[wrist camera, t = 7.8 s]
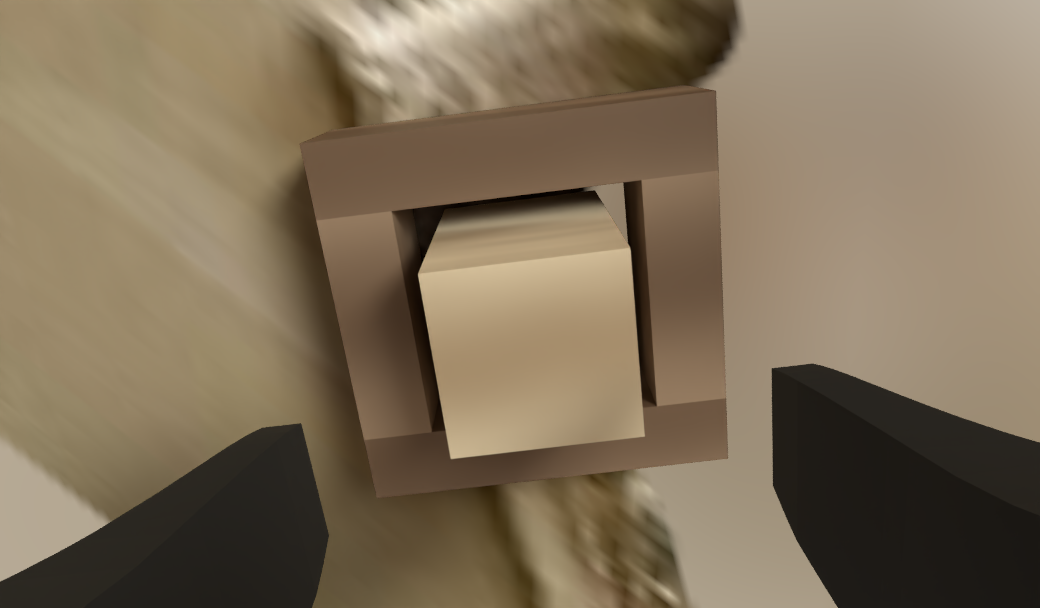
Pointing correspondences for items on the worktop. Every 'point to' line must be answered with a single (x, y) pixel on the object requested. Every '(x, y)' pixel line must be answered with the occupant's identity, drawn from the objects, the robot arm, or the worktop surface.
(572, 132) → the brown square frame
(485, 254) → the oak block
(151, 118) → the worktop surface
